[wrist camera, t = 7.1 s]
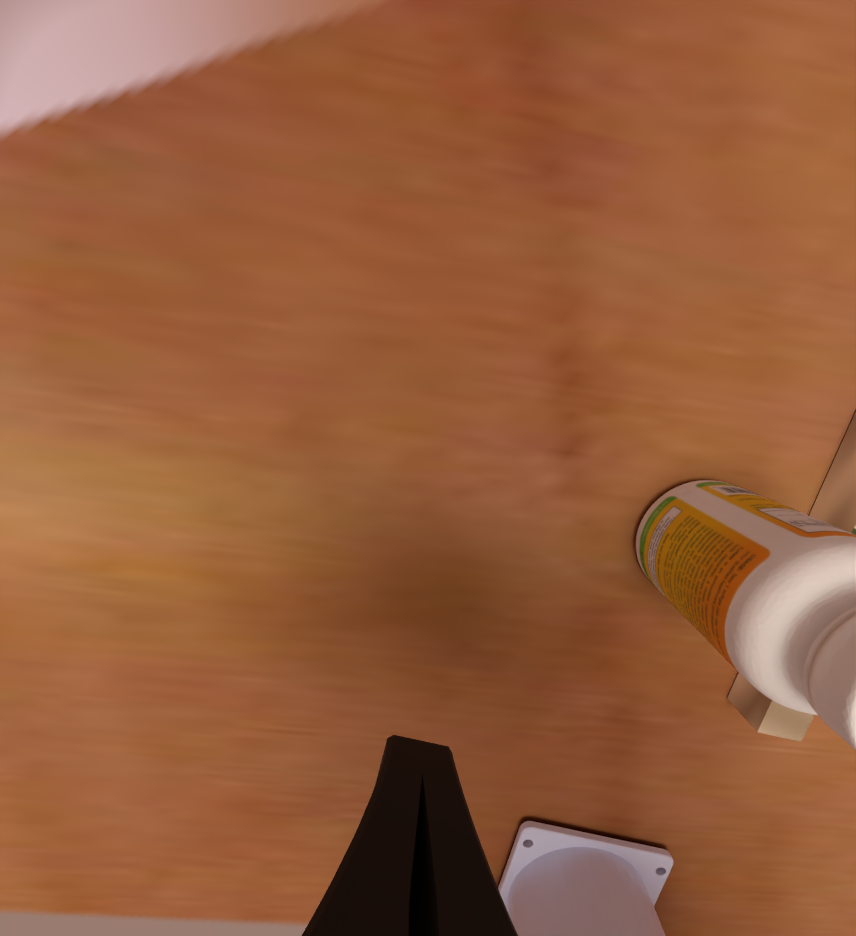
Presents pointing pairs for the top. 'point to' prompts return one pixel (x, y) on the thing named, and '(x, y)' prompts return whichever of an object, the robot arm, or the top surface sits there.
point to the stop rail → (841, 505)
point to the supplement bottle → (761, 592)
